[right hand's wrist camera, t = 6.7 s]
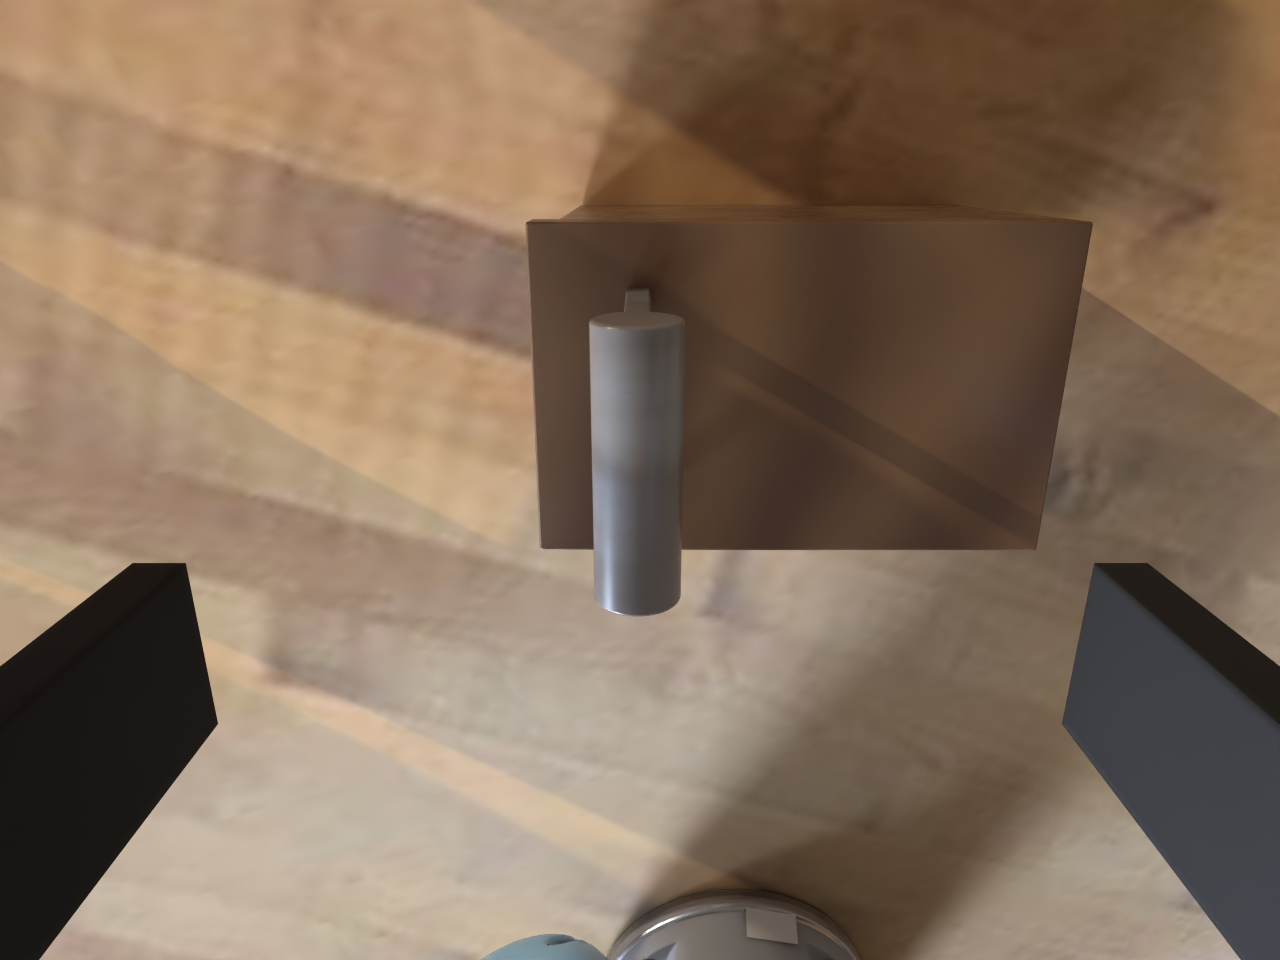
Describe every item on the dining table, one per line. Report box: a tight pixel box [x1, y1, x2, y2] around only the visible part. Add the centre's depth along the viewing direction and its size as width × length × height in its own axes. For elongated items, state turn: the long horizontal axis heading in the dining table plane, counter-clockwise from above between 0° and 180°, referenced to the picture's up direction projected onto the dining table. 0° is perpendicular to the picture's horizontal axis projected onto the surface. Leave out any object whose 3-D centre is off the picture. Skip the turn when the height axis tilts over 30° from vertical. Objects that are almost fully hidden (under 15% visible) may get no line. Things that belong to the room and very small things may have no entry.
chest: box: [561, 206, 1064, 219], centre depth 32 cm, size 15×10×10 cm
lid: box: [526, 219, 1093, 616], centre depth 23 cm, size 16×10×9 cm, turn 90°
